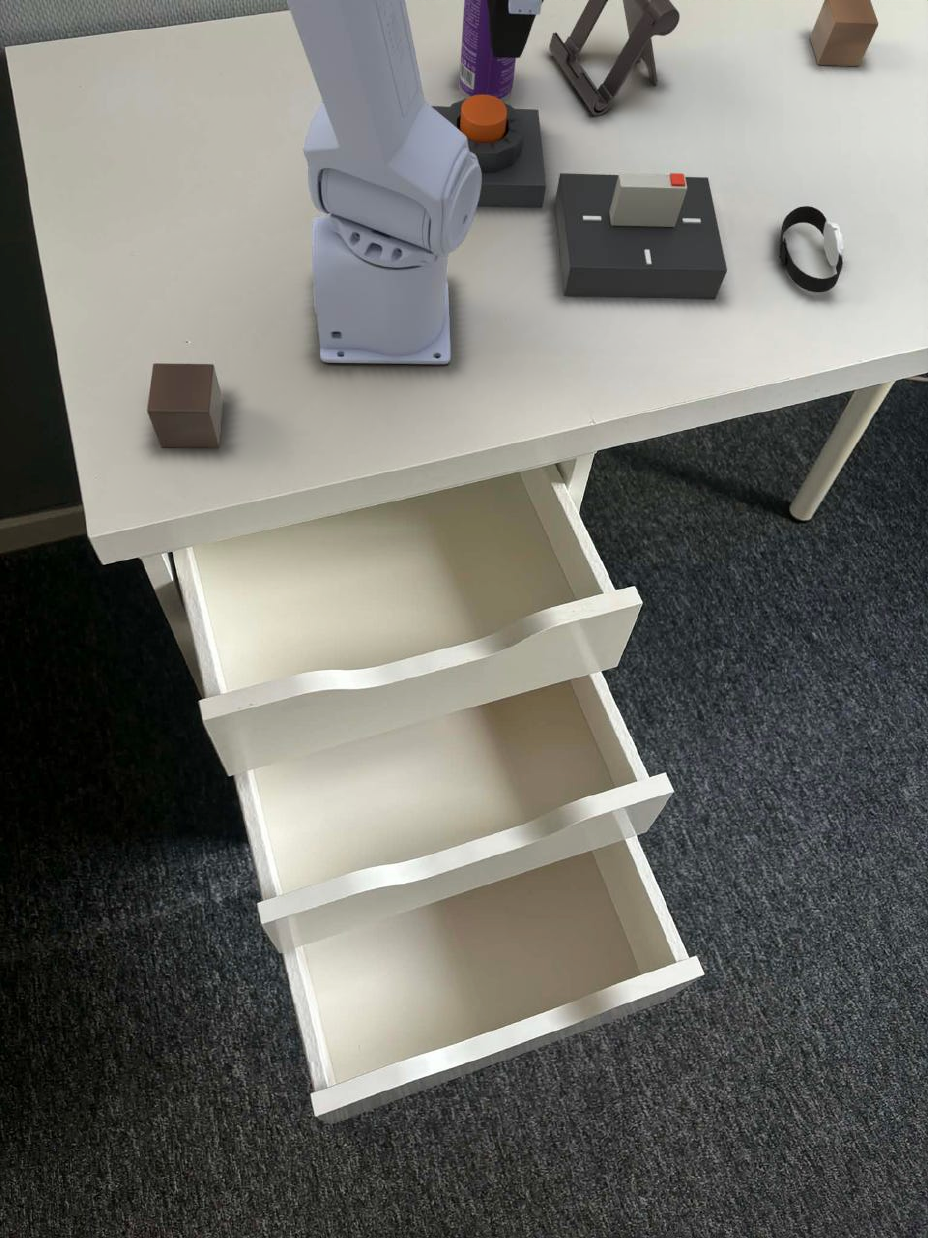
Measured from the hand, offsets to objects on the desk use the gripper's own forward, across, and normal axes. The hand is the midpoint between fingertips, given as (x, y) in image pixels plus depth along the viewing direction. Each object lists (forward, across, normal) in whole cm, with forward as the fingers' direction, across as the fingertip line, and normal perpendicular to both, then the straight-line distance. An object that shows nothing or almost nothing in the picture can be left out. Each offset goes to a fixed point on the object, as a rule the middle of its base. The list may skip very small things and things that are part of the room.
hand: (506, 51), depth 70 cm
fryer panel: (+10, -9, -11) cm, 17 cm away
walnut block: (+10, -26, +22) cm, 36 cm away
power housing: (+10, 0, +1) cm, 10 cm away
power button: (+7, 0, +1) cm, 7 cm away
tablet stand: (+10, +12, -11) cm, 19 cm away
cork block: (+10, +17, -33) cm, 38 cm away
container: (+10, +10, 0) cm, 14 cm away
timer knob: (+7, -9, -11) cm, 16 cm away
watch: (+10, -10, -25) cm, 29 cm away
